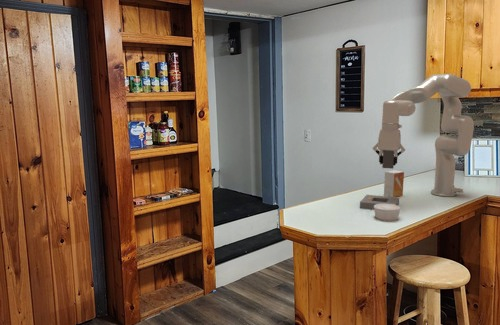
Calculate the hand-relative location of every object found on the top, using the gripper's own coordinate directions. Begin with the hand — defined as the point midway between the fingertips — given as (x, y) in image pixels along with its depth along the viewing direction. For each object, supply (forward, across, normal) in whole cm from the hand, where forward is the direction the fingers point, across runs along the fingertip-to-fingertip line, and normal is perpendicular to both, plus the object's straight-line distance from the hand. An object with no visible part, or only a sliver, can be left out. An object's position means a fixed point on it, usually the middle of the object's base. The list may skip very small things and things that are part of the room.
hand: (387, 164), depth 210 cm
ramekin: (+21, -4, +21) cm, 30 cm away
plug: (+2, 0, -1) cm, 2 cm away
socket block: (+20, +2, +2) cm, 21 cm away
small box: (+20, -1, -22) cm, 30 cm away
